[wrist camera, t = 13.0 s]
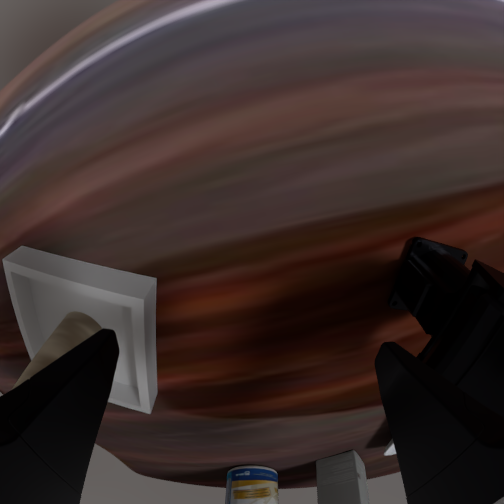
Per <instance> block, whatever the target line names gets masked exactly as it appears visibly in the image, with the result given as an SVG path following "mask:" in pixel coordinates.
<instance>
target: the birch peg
mask: <svg viewBox="0 0 504 504" xmlns="http://www.w3.org/2000/svg"><path fill="white" fill-rule="evenodd" d="M101 329H102V328H101V326H100V325H99V324H98V323H97V322H96V321H95V320H94V319H93V318H91V317H90V316H88V315H86V314H84V313H81V312H76V311H74V312H70V313H68V314H67V315H66V316H65V318H64V319H63V320H62V321H61V323H60V324H59V325H58V326H57V328H56V329H55V330H54V331H53V333H52V334H51V335H50V337H49V338H48V339H47V341H46V342H45V343H44V344H43V346H42V347H41V348H40V350H39V351H38V353H37V354H36V355H35V357H34V358H33V359H32V361H31V362H30V364H29V365H28V366H27V368H26V369H25V371H24V372H23V374H22V375H21V376H20V378H19V379H18V381H17V382H16V384H15V385H14V387H13V388H12V389H14V388H15V387H17V386H18V385H20V384H21V383H23V382H24V381H26V380H27V379H30V377H32V376H33V375H34V374H36V373H37V372H39V371H40V370H42V369H43V368H45V367H46V366H48V365H49V364H50V363H52V362H53V361H55V360H56V359H58V358H59V357H61V356H62V355H64V354H65V353H67V352H68V351H70V350H71V349H73V348H74V347H75V346H77V345H78V344H80V343H81V342H83V341H84V340H86V339H87V338H89V337H90V336H92V335H93V334H95V333H96V332H98V331H99V330H101Z"/></svg>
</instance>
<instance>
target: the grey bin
mask: <svg viewBox="0 0 504 504" xmlns="http://www.w3.org/2000/svg"><path fill="white" fill-rule="evenodd" d="M2 260H3V265H4V270H5V275H6V280H7V284H8V288H9V292H10V296H11V300H12V304H13V308H14V311H15V315H16V318H17V321H18V324H19V328H20V331H21V334H22V337H23V339H24V342H25V345H26V348H27V351H28V353H29V356H30V358H31V361H32V359H33V358H34V357H35V355H36V354H37V353H38V351H39V350H40V348H41V347H42V346H43V344H44V343H45V342H46V341H47V339H48V338H49V337H50V335H51V334H52V333H53V331H54V330H55V329H56V328H57V326H58V325H59V324H60V323H61V321H62V320H63V319H64V318H65V316H66V315H67V314H68V313H70V312H74V311H76V312H81V313H84V314H86V315H88V316H90V317H91V318H93V319H94V320H95V321H96V322H97V323H98V324H99V325H100V326H101V328H102V329H103V328H106V329H112V330H114V331H115V333H116V337H117V341H118V345H119V350H120V352H119V358H118V362H117V366H116V371H115V375H114V380H113V384H112V389H111V393H110V396H109V399H108V402H111V403H114V404H117V405H120V406H123V407H127V408H130V409H133V410H137V411H141V412H144V413H148V414H151V411H152V408H153V405H154V402H155V399H156V396H157V393H158V391H157V368H156V284H157V278H153V277H149V276H144V275H139V274H135V273H130V272H126V271H121V270H117V269H113V268H108V267H104V266H100V265H96V264H92V263H87V262H83V261H79V260H75V259H71V258H67V257H63V256H59V255H56V254H52V253H48V252H44V251H40V250H37V249H33V248H29V247H26V246H21V247H19V248H18V249H16V250H15V251H13V252H12V253H10V254H9V255H8V256H6V257H5V258H3V259H2Z"/></svg>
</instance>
